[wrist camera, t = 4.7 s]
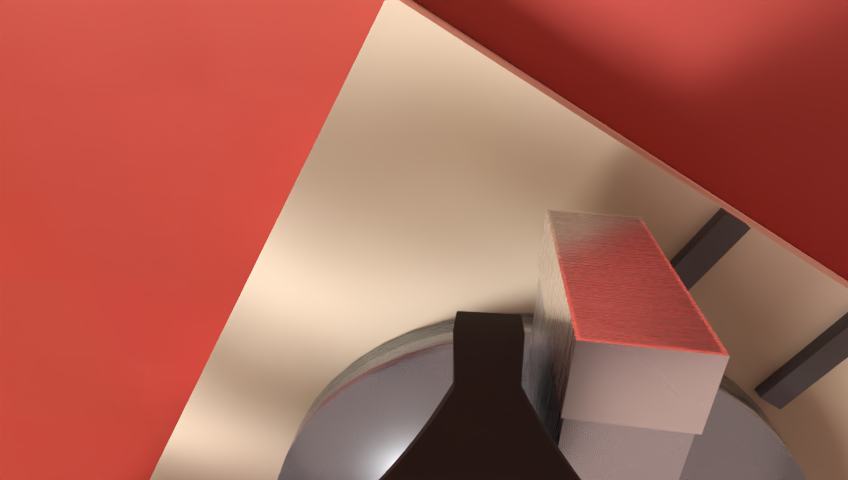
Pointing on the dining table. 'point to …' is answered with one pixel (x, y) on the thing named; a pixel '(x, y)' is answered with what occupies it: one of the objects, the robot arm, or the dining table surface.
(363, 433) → the dial
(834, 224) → the dining table surface
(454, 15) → the dining table surface
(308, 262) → the stand plate
